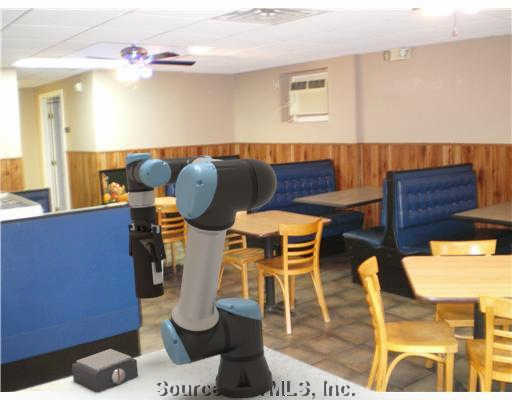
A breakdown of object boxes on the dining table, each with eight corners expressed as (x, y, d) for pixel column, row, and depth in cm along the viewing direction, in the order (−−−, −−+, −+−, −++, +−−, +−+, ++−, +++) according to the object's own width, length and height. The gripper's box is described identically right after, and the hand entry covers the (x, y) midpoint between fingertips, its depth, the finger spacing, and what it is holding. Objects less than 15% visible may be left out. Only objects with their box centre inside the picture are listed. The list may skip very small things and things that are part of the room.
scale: (139, 377, 158) (137, 356, 158) (99, 393, 149) (96, 372, 148) (113, 366, 168) (111, 347, 167) (73, 381, 159) (71, 361, 158)
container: (158, 299, 161) (153, 231, 159) (129, 299, 162) (123, 232, 160) (169, 291, 169) (163, 226, 167) (141, 291, 171) (135, 227, 169)
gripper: (174, 205, 159) (181, 283, 161) (133, 203, 173) (139, 274, 175) (153, 208, 153) (159, 289, 155) (112, 206, 168) (119, 280, 170)
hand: (149, 281), depth 165 cm, fingers closed on container, 8 cm apart
